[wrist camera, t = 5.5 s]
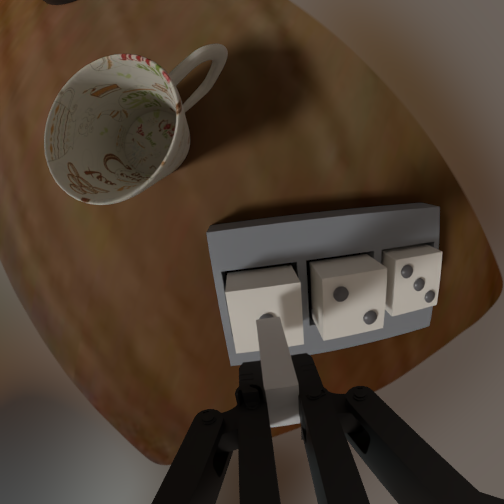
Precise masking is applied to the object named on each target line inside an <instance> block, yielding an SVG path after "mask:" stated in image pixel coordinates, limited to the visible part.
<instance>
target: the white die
mask: <svg viewBox="0 0 504 504" xmlns="http://www.w3.org/2000/svg"><path fill="white" fill-rule="evenodd" d="M309 266H310V283H311V304H312V318H313V320H314V322H315V324H316V326H317V328H318V331H319V333H320V335H321V337H322V339H323V341H325V340H330V339H335V338H340V337H345V336H350V335H355V334H359V333H364V332H368V331H372V330H377V329H381V328H383V325H384V314H385V302H386V286H387V268H386V267H385V266H383V265H382V264H381V263H379V262H378V261H376V260H375V259H373V258H372V257H370V256H369V255H368V254H361V255H355V256H348V257H341V258H334V259H327V260H320V261H313V262H309Z"/></svg>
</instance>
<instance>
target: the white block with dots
mask: <svg viewBox="0 0 504 504" xmlns="http://www.w3.org/2000/svg"><path fill="white" fill-rule="evenodd" d="M381 264H382V265H383V266H385V267H386V268H387V286H386V302H385V310H386V311H387V312H388V313H389V314H390V315H391V316H396V315H400V314H404V313H408V312H412V311H416V310H420V309H423V308H427V307H430V306H434V305H437V299H438V292H439V284H440V275H441V264H442V251H440V250H438V249H436V248H434V247H431V246H429V245H427V244H425V243H422V244H415V245H409V246H402V247H396V248H389V249H382V251H381Z"/></svg>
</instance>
